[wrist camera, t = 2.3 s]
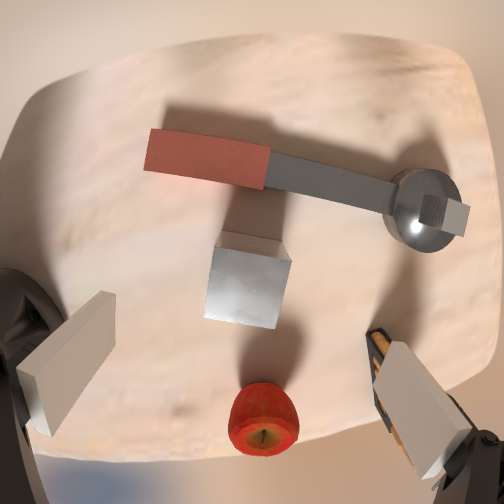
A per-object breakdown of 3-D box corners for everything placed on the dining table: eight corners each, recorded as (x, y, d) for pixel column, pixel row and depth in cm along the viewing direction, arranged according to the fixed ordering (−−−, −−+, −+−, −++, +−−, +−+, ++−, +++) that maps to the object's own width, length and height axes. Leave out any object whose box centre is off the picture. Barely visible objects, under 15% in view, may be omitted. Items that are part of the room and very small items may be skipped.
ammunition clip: (365, 333, 28) (418, 412, 17) (382, 326, 28) (441, 401, 16) (375, 405, 31) (412, 481, 19) (389, 400, 31) (430, 473, 19)
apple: (280, 359, 29) (290, 411, 21) (299, 401, 30) (310, 453, 23) (220, 378, 29) (214, 431, 22) (243, 418, 31) (243, 470, 23)
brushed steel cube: (211, 286, 27) (203, 317, 21) (221, 230, 26) (214, 246, 20) (268, 296, 27) (275, 329, 21) (281, 241, 26) (291, 260, 20)
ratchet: (149, 193, 25) (119, 199, 18) (164, 110, 23) (140, 92, 17) (434, 251, 26) (473, 270, 20) (450, 181, 25) (493, 186, 18)
